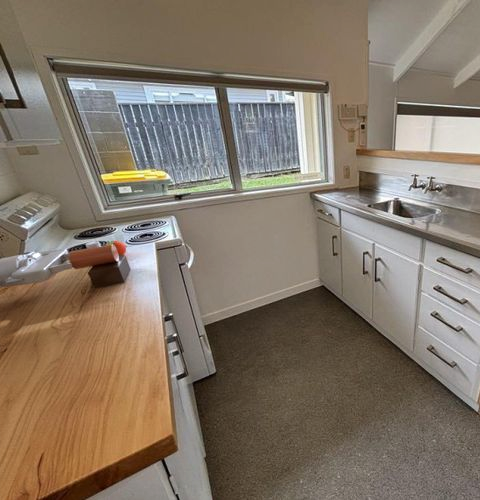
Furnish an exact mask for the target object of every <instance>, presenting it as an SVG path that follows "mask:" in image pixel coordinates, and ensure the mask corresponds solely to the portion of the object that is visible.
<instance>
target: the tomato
mask: <svg viewBox="0 0 480 500" xmlns="http://www.w3.org/2000/svg"><path fill="white" fill-rule="evenodd" d="M112 244H113V245H114V246H115V247H116V249H117V251H118V255H119V256H120V255H126V252H127V247H126V245H125V244H124V243H123V242H122V241H119V240H112V241H109V242H107V243H106V244H105V245H104V246H106V245H112Z"/></svg>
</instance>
